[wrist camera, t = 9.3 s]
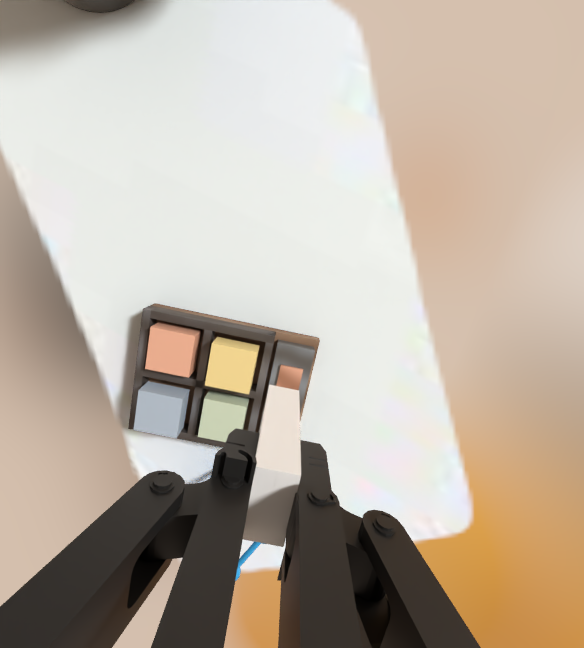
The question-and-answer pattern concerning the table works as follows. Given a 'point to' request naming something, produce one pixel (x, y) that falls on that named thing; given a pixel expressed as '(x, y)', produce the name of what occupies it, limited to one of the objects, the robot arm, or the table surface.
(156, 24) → the table surface
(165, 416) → the slate key
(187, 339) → the terracotta key
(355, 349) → the table surface
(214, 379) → the mustard key
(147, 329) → the keypad
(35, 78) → the table surface
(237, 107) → the table surface
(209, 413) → the sage key
